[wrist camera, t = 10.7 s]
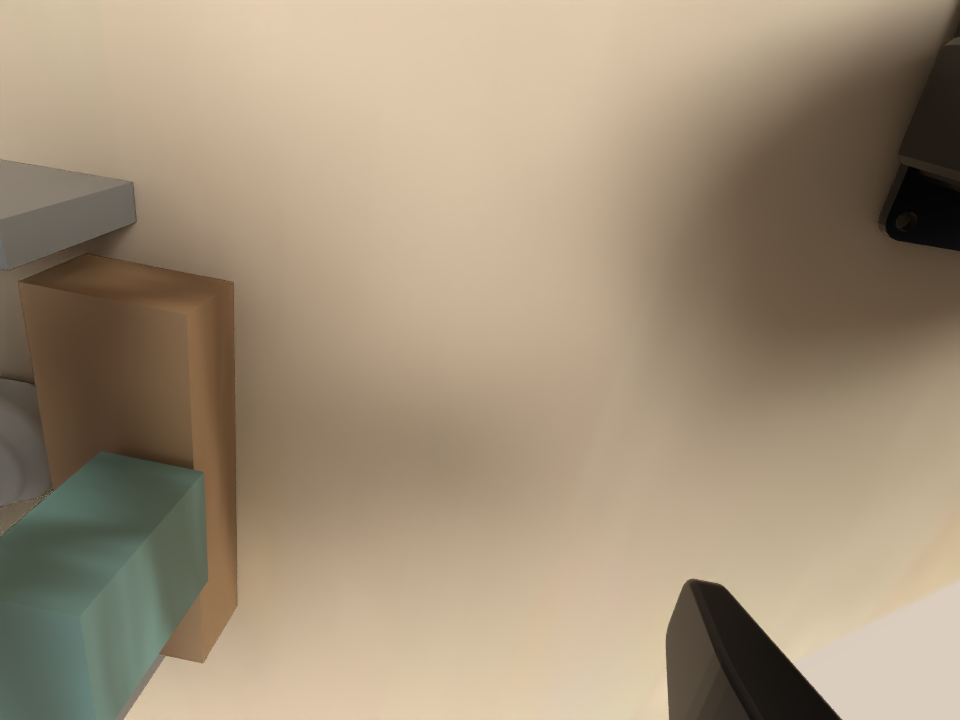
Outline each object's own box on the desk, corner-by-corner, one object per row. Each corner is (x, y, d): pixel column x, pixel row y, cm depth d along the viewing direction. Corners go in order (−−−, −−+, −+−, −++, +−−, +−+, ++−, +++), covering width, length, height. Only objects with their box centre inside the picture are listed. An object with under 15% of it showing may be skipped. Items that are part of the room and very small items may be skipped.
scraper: (254, 283, 20) (49, 434, 12) (253, 604, 26) (117, 847, 18) (89, 252, 20) (-222, 379, 12) (126, 578, 26) (-65, 806, 18)
